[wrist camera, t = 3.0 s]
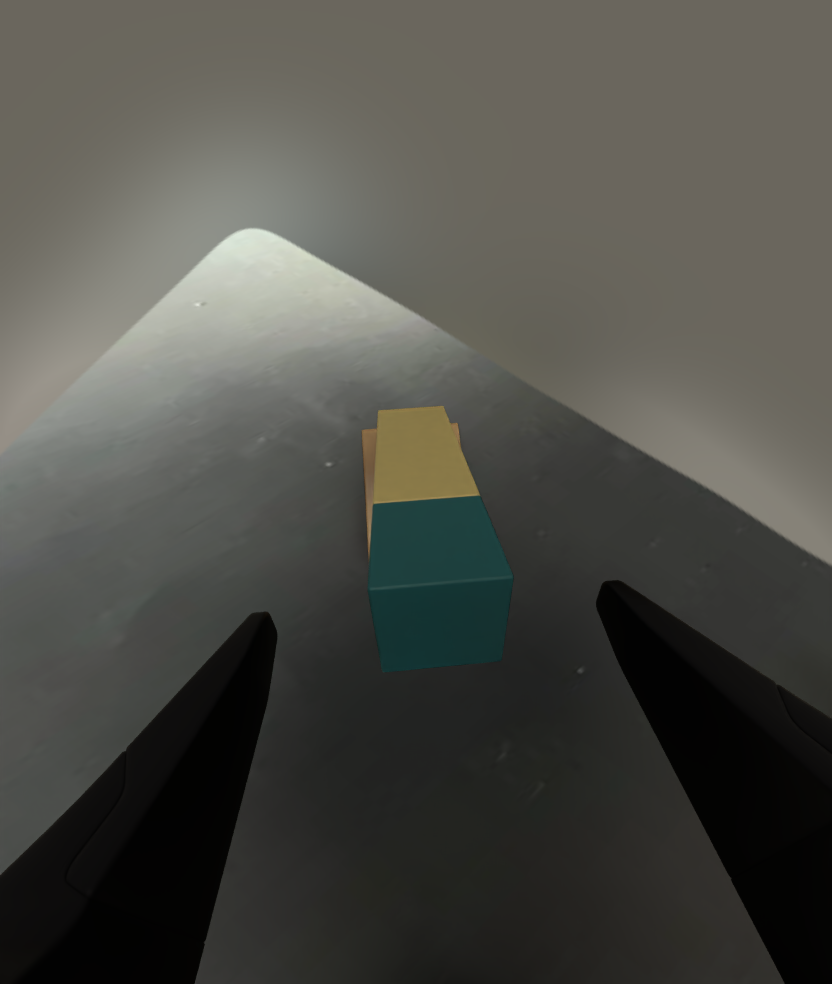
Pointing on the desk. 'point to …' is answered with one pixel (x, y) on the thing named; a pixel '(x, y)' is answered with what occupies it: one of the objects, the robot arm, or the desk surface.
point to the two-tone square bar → (432, 550)
